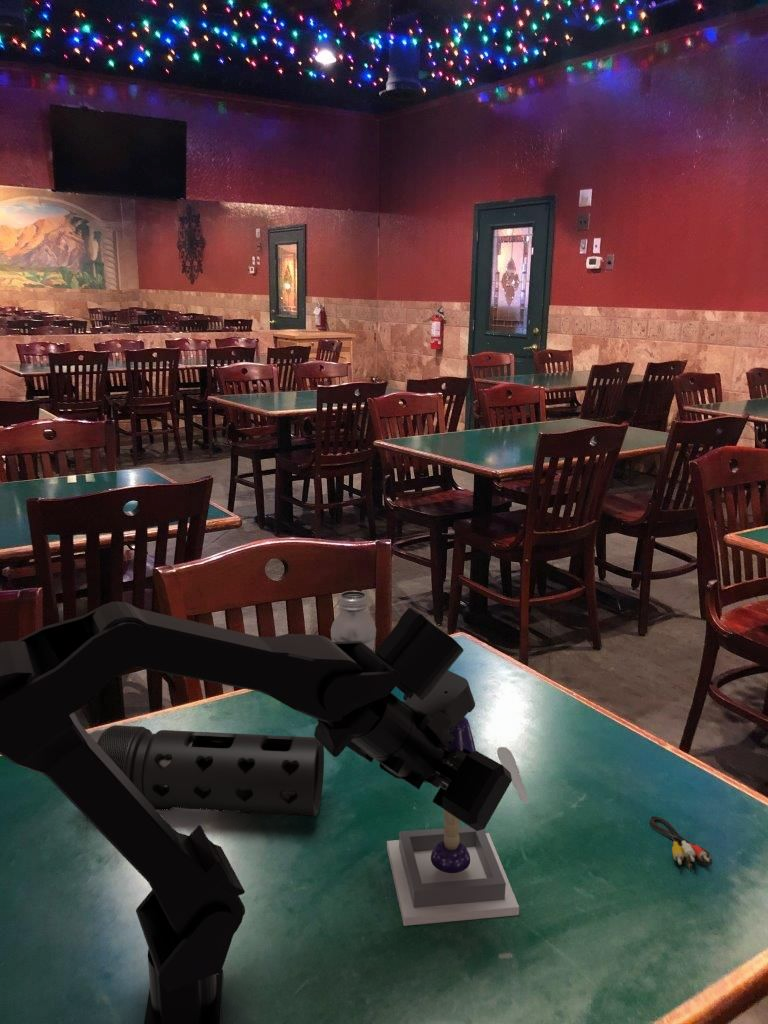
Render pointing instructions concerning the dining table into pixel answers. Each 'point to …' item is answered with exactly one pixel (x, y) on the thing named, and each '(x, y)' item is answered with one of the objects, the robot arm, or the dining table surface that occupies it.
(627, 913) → the dining table surface
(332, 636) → the plastic bottle
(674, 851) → the composite cable
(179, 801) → the muzzle brake
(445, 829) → the toy lamp
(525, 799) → the butter knife
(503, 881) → the socket plate
